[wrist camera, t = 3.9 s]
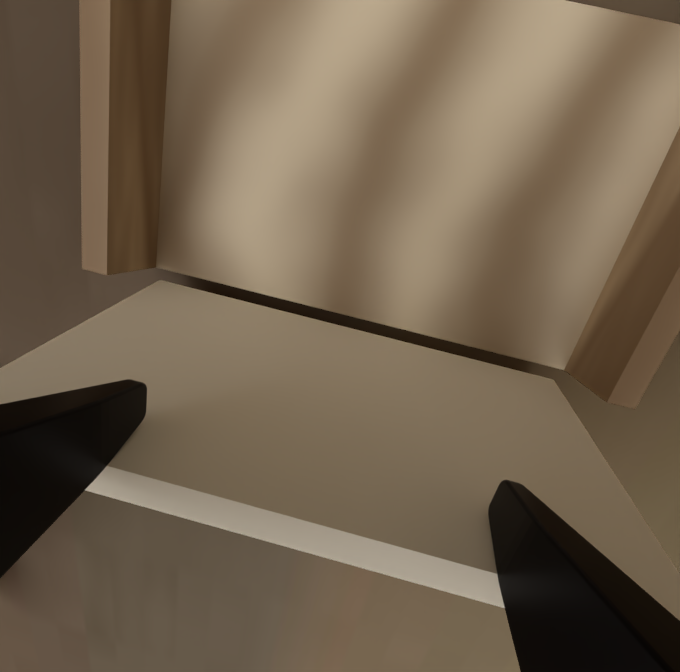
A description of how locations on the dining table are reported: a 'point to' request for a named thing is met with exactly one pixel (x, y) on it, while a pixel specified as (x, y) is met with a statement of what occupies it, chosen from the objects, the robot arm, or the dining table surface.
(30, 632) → the dining table surface
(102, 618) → the dining table surface
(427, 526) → the panel
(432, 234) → the tray
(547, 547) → the robot arm
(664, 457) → the dining table surface
